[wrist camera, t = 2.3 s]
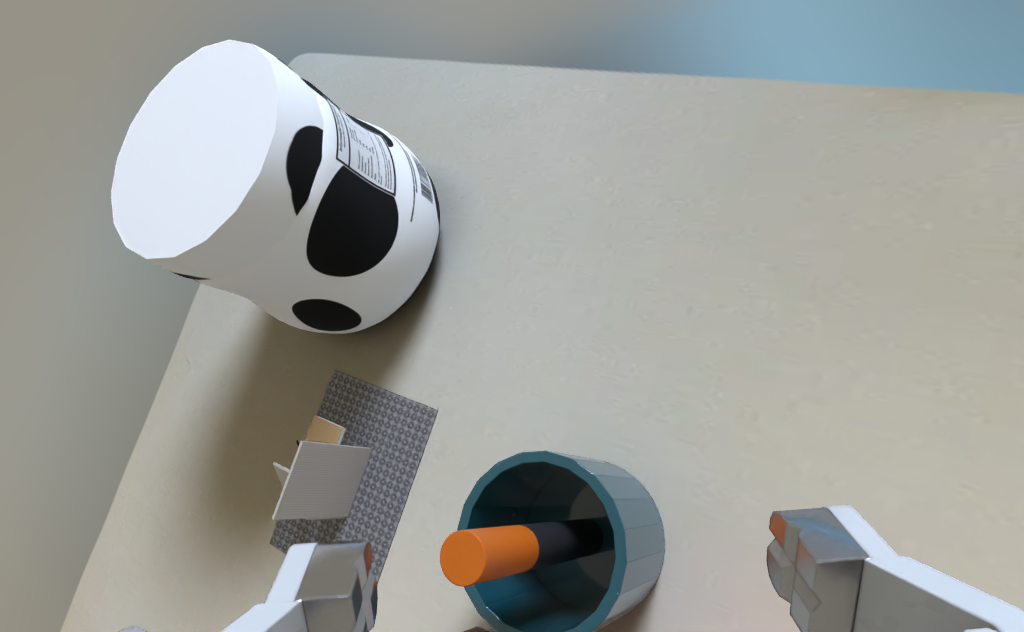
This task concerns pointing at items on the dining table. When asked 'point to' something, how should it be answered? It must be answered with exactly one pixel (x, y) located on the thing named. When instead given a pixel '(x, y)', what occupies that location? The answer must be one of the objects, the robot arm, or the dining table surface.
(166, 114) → the doce de leite jar
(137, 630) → the french press
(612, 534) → the pen pot
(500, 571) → the marker
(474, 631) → the tray
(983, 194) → the dining table surface
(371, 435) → the architectural model
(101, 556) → the dining table surface
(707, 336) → the dining table surface
